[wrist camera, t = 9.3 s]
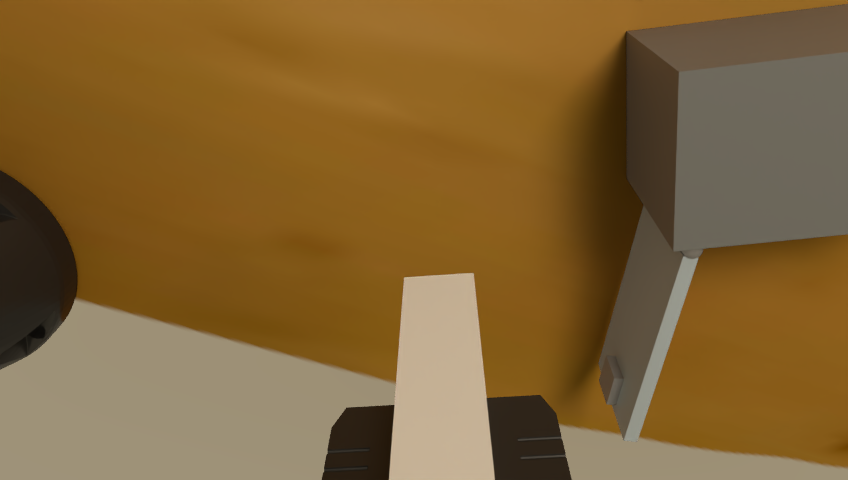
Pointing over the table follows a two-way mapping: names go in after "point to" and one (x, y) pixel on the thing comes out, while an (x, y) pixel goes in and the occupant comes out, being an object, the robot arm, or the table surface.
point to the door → (643, 324)
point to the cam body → (741, 127)
